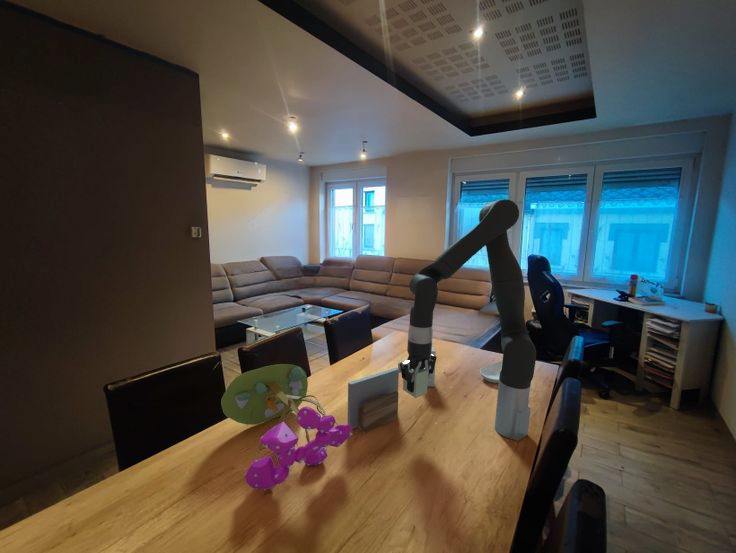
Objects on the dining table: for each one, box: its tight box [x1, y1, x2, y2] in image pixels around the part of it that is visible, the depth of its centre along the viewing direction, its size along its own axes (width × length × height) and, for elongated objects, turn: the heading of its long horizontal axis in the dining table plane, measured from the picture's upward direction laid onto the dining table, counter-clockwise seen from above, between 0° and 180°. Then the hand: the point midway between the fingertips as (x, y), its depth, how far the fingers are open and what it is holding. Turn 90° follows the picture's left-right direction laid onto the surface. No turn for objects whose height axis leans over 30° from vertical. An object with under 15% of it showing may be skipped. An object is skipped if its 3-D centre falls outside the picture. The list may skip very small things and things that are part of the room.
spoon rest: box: [479, 359, 503, 384], centre depth 143 cm, size 24×12×7 cm, turn 125°
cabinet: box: [397, 360, 428, 399], centre depth 104 cm, size 9×5×8 cm, turn 34°
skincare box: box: [427, 345, 437, 388], centre depth 136 cm, size 8×7×16 cm
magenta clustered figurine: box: [220, 363, 353, 492], centre depth 91 cm, size 30×28×35 cm
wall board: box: [347, 367, 400, 430], centre depth 109 cm, size 2×20×16 cm, turn 125°
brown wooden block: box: [357, 391, 399, 434], centre depth 107 cm, size 4×14×10 cm, turn 125°
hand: (417, 388), depth 102 cm, fingers closed on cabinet, 5 cm apart
